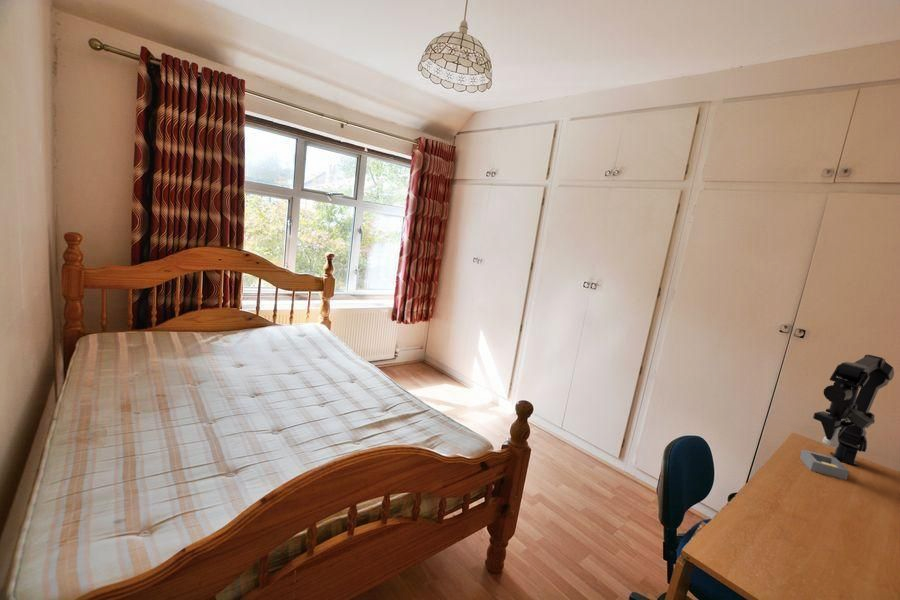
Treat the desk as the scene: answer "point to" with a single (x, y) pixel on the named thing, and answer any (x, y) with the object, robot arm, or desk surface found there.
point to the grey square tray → (824, 464)
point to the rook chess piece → (834, 440)
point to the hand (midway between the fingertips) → (831, 439)
